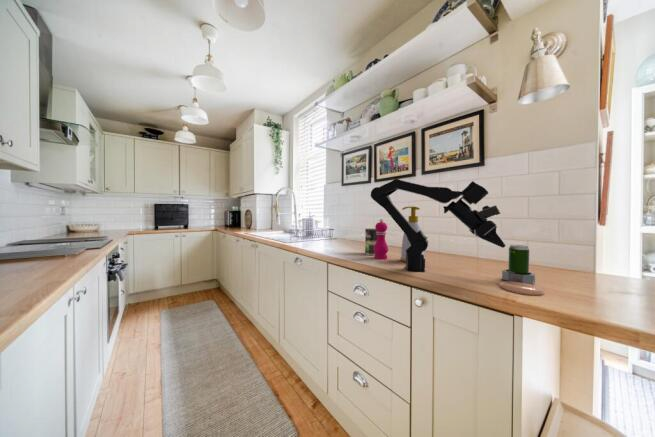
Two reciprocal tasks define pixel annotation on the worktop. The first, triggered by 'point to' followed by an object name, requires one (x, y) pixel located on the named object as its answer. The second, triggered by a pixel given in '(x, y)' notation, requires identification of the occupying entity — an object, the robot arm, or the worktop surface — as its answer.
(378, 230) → the pepper mill
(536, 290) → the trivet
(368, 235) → the coffee can
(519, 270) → the beer can
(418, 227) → the soap bottle
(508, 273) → the collar
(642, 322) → the worktop surface
